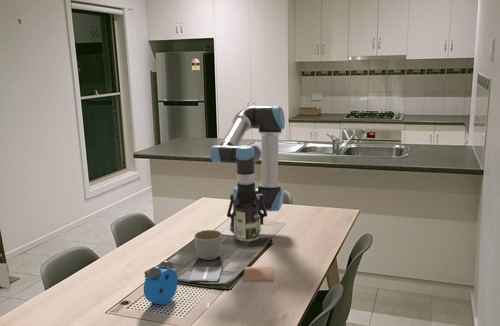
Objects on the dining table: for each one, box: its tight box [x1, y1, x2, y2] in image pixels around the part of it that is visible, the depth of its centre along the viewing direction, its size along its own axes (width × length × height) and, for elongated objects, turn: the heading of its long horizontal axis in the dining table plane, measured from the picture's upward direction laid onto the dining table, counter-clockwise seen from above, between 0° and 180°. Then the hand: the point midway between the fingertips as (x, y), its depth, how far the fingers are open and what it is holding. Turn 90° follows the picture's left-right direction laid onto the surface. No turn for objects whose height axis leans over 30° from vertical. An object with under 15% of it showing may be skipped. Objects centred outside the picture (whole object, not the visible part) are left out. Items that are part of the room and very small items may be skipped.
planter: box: [194, 229, 223, 261], centre depth 210 cm, size 12×12×11 cm
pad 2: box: [243, 266, 274, 283], centre depth 192 cm, size 12×12×1 cm
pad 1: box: [188, 266, 223, 281], centre depth 193 cm, size 12×12×1 cm
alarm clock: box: [143, 260, 179, 306], centre depth 171 cm, size 13×6×15 cm, turn 152°
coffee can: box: [235, 204, 260, 242], centre depth 201 cm, size 10×10×14 cm
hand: (247, 231), depth 202 cm, fingers closed on coffee can, 10 cm apart
